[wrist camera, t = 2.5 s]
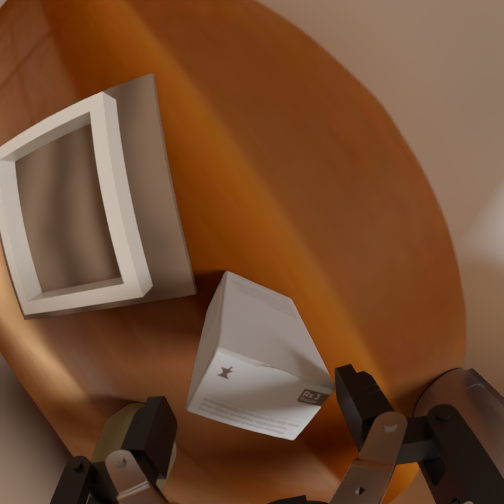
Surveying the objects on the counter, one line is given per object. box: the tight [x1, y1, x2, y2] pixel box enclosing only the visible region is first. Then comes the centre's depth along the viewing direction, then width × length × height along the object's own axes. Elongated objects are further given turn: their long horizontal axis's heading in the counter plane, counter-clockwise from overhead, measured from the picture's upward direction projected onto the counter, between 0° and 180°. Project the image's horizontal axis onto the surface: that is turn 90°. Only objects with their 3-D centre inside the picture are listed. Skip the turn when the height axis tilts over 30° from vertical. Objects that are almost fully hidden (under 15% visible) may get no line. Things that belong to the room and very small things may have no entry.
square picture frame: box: [0, 92, 153, 315], centre depth 19 cm, size 13×15×2 cm
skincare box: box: [186, 271, 335, 440], centre depth 18 cm, size 6×4×12 cm
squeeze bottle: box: [88, 403, 177, 504], centre depth 17 cm, size 8×8×18 cm
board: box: [0, 73, 198, 320], centre depth 21 cm, size 20×18×1 cm
